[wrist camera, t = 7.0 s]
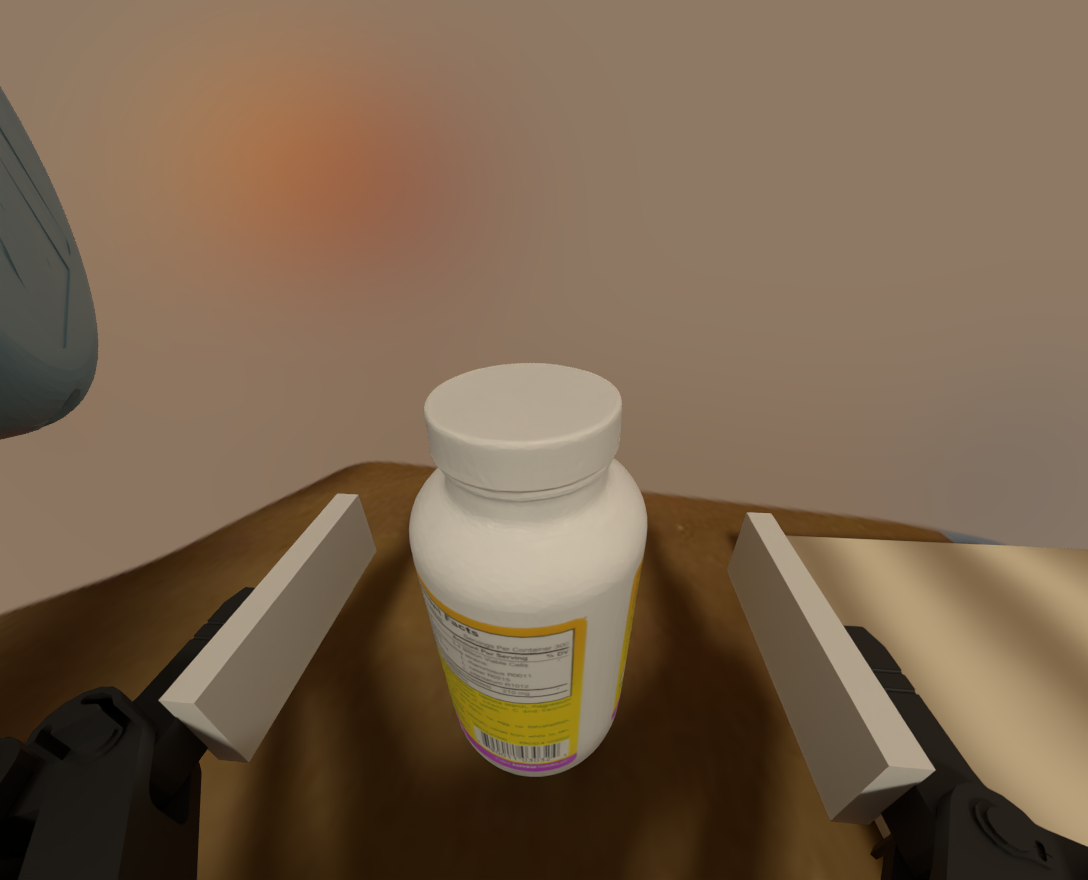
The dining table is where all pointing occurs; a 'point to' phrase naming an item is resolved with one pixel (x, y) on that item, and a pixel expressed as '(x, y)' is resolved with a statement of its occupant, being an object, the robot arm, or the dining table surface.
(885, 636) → the birch stand
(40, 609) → the dining table surface
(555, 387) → the supplement bottle
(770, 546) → the robot arm
